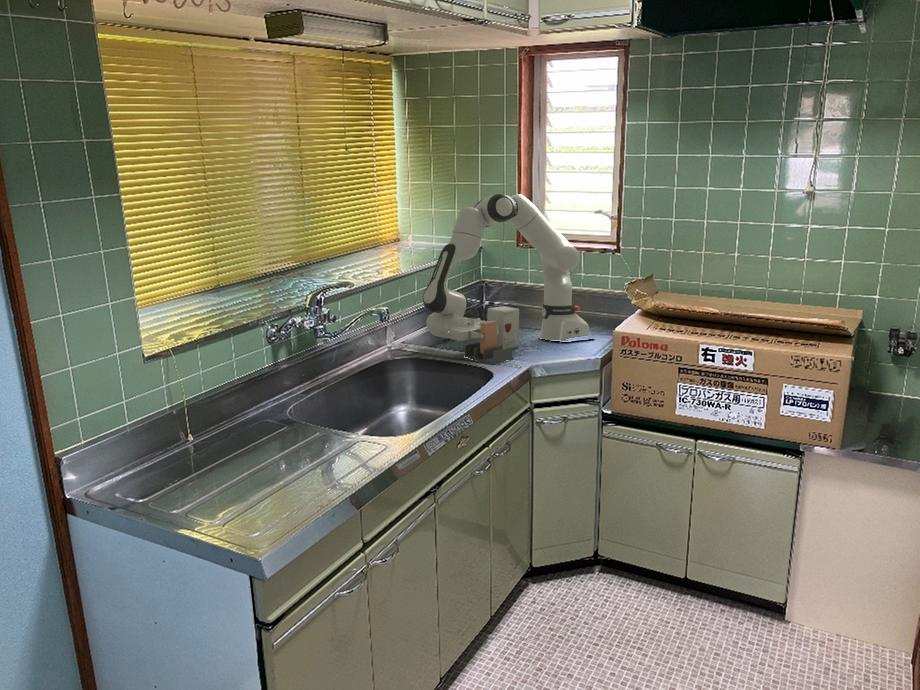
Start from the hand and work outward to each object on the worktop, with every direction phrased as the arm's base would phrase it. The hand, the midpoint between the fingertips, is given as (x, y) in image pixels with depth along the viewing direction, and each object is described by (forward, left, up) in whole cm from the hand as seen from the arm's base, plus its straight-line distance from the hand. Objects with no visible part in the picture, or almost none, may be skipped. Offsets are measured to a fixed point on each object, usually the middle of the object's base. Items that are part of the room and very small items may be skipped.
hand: (490, 334), depth 262 cm
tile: (0, -1, -7) cm, 7 cm away
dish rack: (0, -1, -9) cm, 9 cm away
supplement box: (-12, -19, -9) cm, 24 cm away
